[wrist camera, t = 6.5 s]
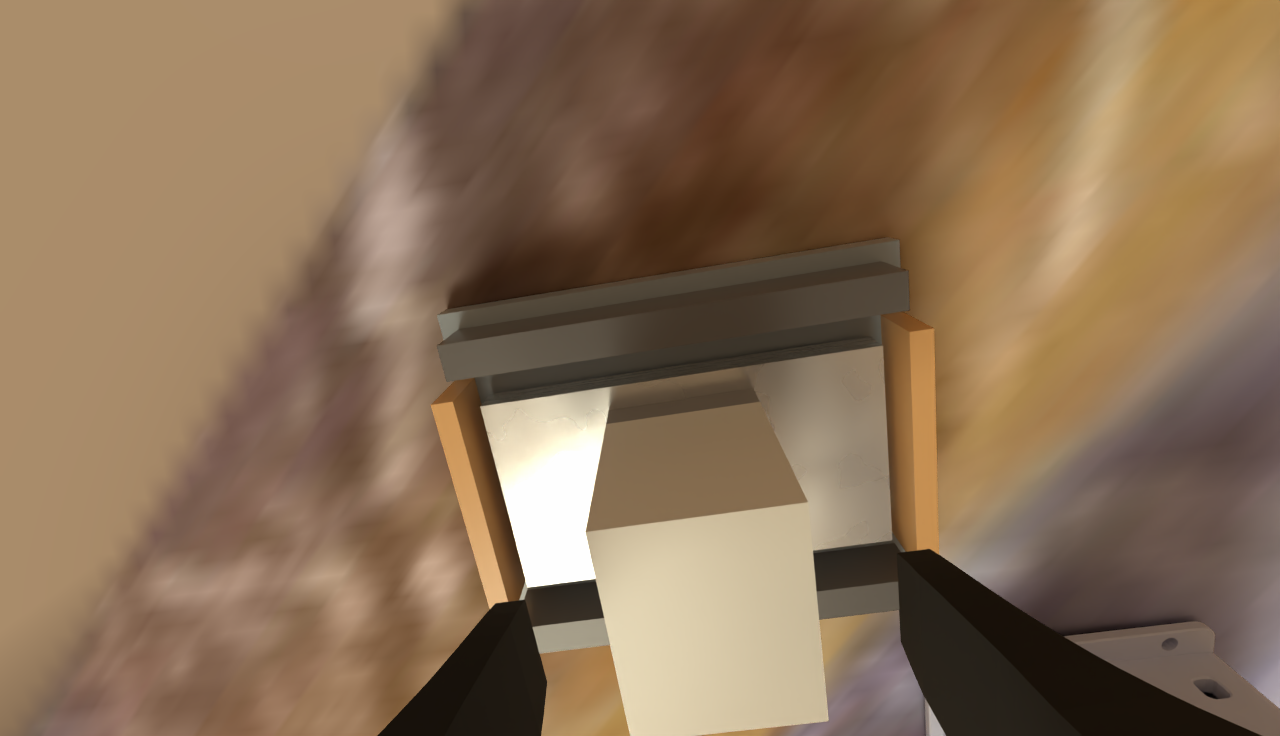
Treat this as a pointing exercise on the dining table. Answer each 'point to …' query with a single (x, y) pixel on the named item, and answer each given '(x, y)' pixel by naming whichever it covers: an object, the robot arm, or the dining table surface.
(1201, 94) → the dining table surface
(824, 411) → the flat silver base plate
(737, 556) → the block
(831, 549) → the rail panel
